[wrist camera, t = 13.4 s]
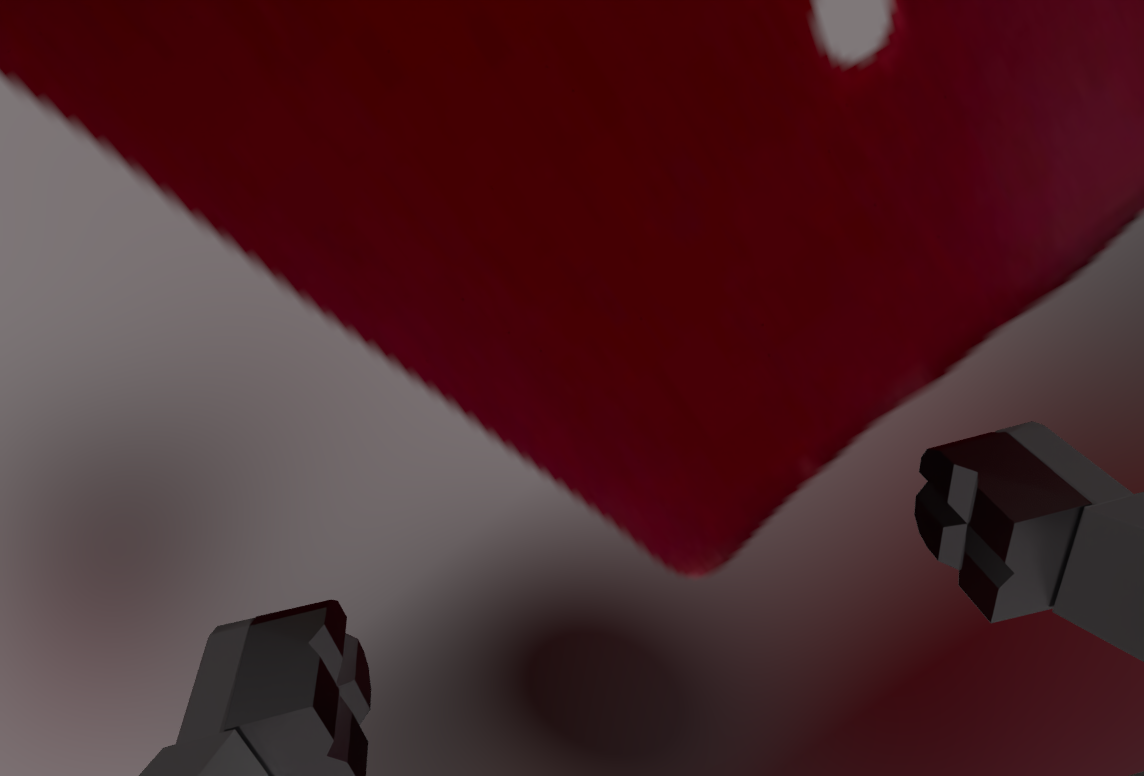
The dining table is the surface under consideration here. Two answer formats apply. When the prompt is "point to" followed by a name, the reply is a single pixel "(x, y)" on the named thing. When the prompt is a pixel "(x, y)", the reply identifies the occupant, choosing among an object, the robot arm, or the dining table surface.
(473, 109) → the dining table surface
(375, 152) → the dining table surface
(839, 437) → the dining table surface
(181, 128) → the dining table surface
